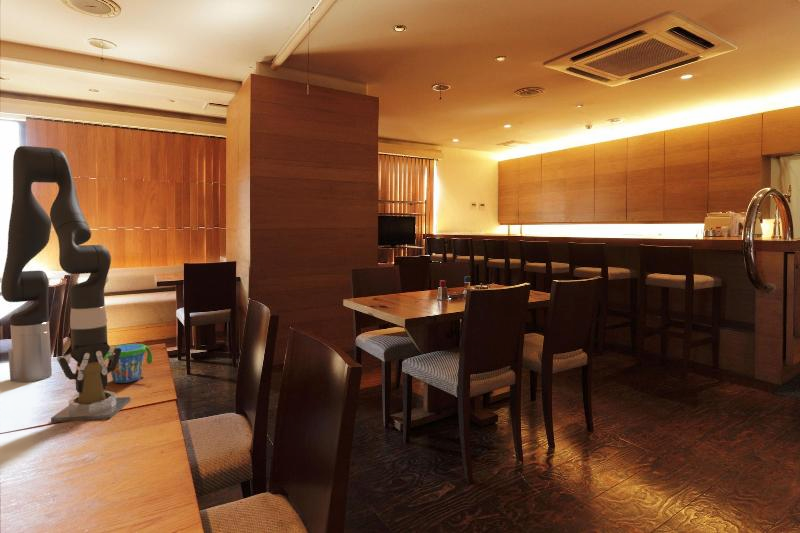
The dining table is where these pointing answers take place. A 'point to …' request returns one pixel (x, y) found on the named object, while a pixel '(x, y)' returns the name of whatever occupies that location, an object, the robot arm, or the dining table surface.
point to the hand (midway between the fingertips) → (92, 390)
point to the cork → (92, 384)
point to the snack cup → (130, 362)
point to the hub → (92, 409)
